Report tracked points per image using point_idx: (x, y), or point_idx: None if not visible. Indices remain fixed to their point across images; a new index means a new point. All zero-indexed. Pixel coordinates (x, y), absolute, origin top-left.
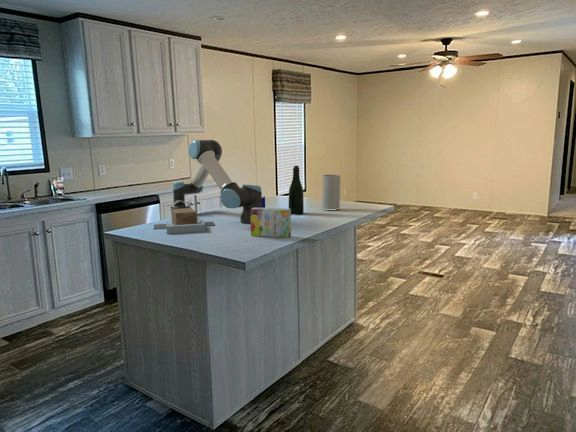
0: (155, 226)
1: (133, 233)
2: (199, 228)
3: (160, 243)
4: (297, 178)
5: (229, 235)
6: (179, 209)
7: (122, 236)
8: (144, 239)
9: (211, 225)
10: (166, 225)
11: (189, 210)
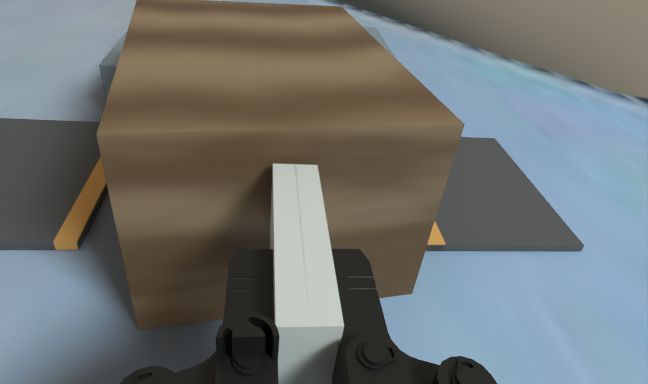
0: (517, 180)
1: (561, 103)
2: None
3: (363, 13)
4: None
5: (68, 8)
6: (324, 90)
7: (576, 81)
8: (443, 42)
9: (24, 120)
10: (382, 38)
11: (191, 37)
